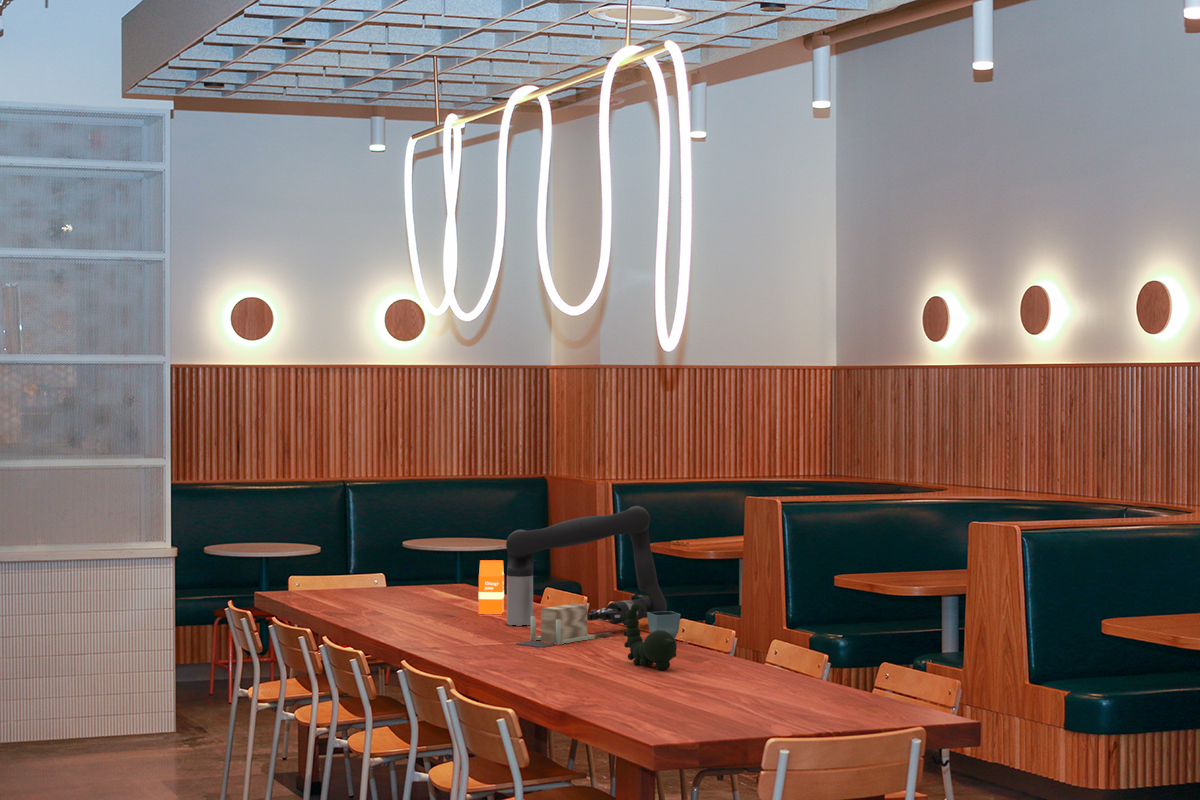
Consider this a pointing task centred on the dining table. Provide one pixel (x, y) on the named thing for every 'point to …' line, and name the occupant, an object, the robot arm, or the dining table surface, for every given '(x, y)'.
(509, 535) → the robot arm
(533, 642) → the pit mat
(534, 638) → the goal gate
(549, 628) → the beech block
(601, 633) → the lane
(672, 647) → the toy figurine
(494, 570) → the orange juice
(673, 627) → the flower pot
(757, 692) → the dining table surface
